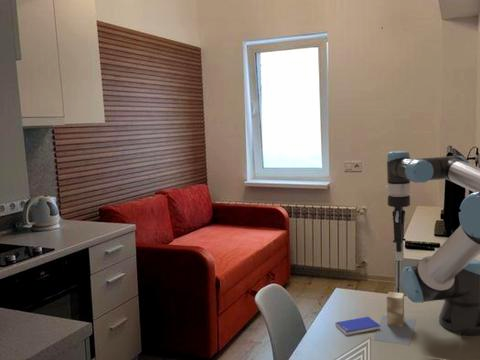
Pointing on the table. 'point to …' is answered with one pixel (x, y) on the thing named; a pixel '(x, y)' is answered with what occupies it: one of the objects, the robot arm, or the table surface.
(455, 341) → the table surface
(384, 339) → the slate mat
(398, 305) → the birch block
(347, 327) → the hard drive
